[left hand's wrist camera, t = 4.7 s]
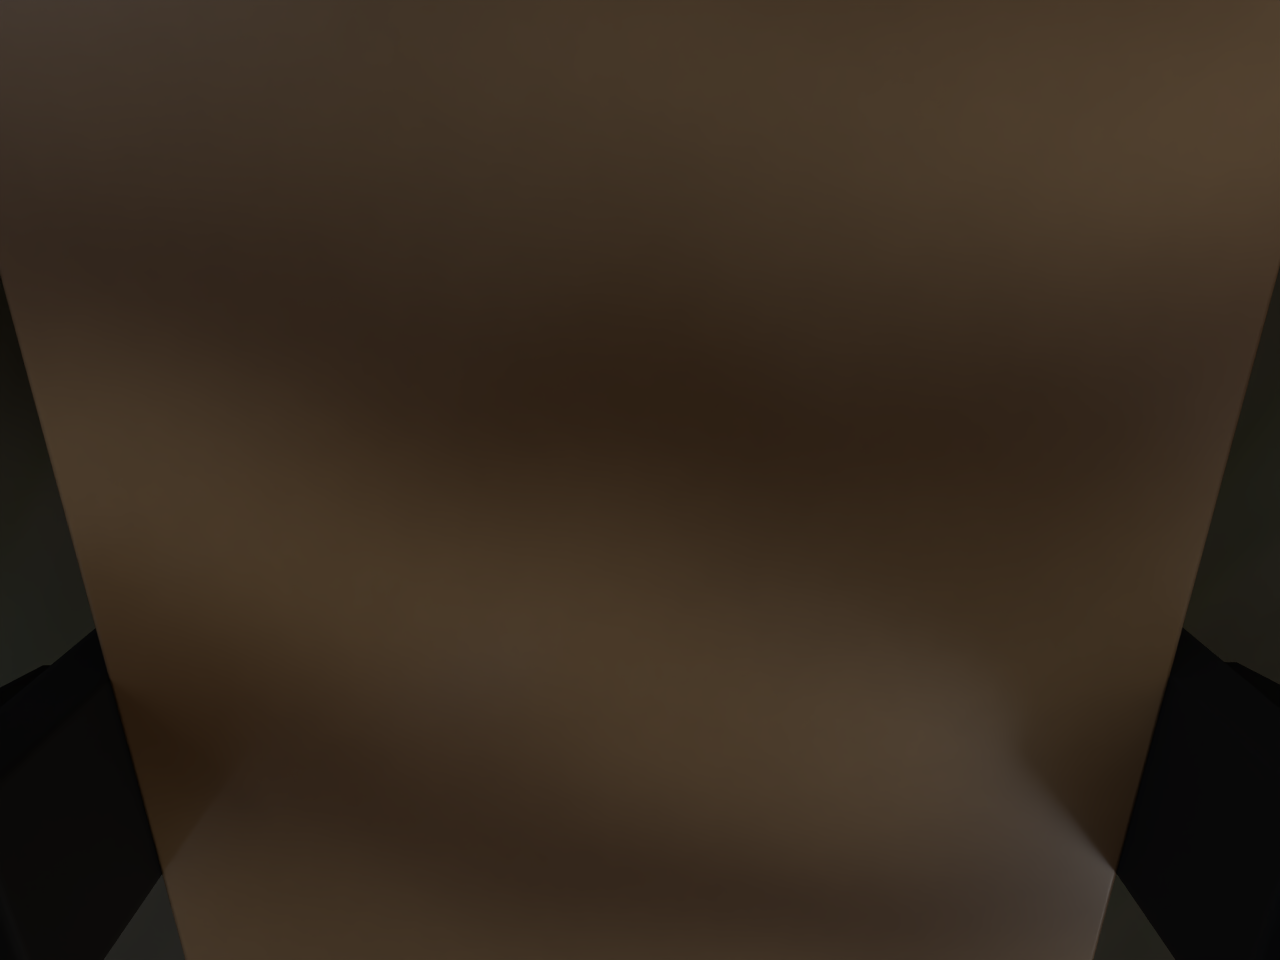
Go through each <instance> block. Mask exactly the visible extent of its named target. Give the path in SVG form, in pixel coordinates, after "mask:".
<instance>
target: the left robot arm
mask: <svg viewBox="0 0 1280 960" xmlns="http://www.w3.org/2000/svg"><path fill="white" fill-rule="evenodd" d="M161 875H162V871H161V867H160V864H159V860H158V856H157V853H156V849H155V845H154V842H153V838H152V834H151V830H150V827H149V823H148V819H147V816H146V812H145V808H144V805H143V801H142V797H141V793H140V790H139V786H138V782H137V779H136V775H135V771H134V768H133V764H132V760H131V756H130V753H129V749H128V745H127V742H126V738H125V734H124V731H123V727H122V723H121V720H120V716H119V712H118V708H117V705H116V701H115V697H114V694H113V690H112V686H111V683H110V679H109V675H108V671H107V668H106V664H105V660H104V657H103V653H102V649H101V646H100V642H99V638H98V634H97V631H96V628H95V629H94V630H93V631H92V632H91V633H89V634H88V635H87V636H86V637H84V638H83V639H82V640H81V641H80V642H78V643H77V644H76V645H75V646H74V647H72V648H71V649H70V650H69V651H68V652H66V653H65V654H64V655H63V656H62V657H60V658H59V659H58V660H57V661H56V662H54V663H53V664H52V665H43V666H41V667H39V668H37V669H35V670H33V671H31V672H29V673H28V674H26V675H24V676H22V677H20V678H18V679H16V680H14V681H12V682H10V683H8V684H6V685H4V686H2V687H1V688H0V960H104V958H105V957H106V955H107V954H108V952H109V951H110V949H111V948H112V946H113V945H114V944H115V942H116V941H117V939H118V938H119V936H120V935H121V933H122V932H123V930H124V929H125V927H126V926H127V925H128V923H129V922H130V920H131V919H132V917H133V916H134V914H135V913H136V911H137V910H138V908H139V907H140V905H141V904H142V903H143V901H144V900H145V898H146V897H147V895H148V894H149V892H150V891H151V889H152V888H153V886H154V885H155V884H156V882H157V881H158V879H159V878H160V876H161ZM1117 875H1118V876H1119V878H1120V879H1121V881H1122V882H1123V883H1124V885H1125V886H1126V888H1127V889H1128V891H1129V892H1130V894H1131V895H1132V897H1133V898H1134V900H1135V901H1136V902H1137V904H1138V905H1139V907H1140V908H1141V910H1142V911H1143V913H1144V914H1145V916H1146V917H1147V919H1148V920H1149V921H1150V923H1151V924H1152V926H1153V927H1154V929H1155V930H1156V932H1157V933H1158V935H1159V936H1160V938H1161V939H1162V940H1163V942H1164V943H1165V945H1166V946H1167V948H1168V949H1169V951H1170V952H1171V954H1172V955H1173V957H1174V958H1175V960H1280V685H1279V684H1277V683H1275V682H1274V681H1272V680H1270V679H1268V678H1266V677H1264V676H1262V675H1260V674H1258V673H1256V672H1254V671H1252V670H1250V669H1248V668H1246V667H1244V666H1243V665H1241V664H1239V663H1237V662H1223V661H1222V660H1221V659H1220V658H1219V657H1217V656H1216V655H1215V654H1214V653H1213V652H1211V651H1210V650H1209V649H1208V648H1207V647H1205V646H1204V645H1203V644H1202V643H1201V642H1199V641H1198V640H1197V639H1196V638H1194V637H1193V636H1192V635H1191V634H1190V633H1188V632H1187V631H1186V630H1185V629H1184V628H1182V631H1181V635H1180V638H1179V642H1178V646H1177V650H1176V653H1175V657H1174V661H1173V664H1172V668H1171V672H1170V676H1169V679H1168V683H1167V687H1166V691H1165V694H1164V698H1163V702H1162V705H1161V709H1160V713H1159V717H1158V720H1157V724H1156V728H1155V731H1154V735H1153V739H1152V743H1151V746H1150V750H1149V754H1148V757H1147V761H1146V765H1145V769H1144V772H1143V776H1142V780H1141V783H1140V787H1139V791H1138V795H1137V798H1136V802H1135V806H1134V809H1133V813H1132V817H1131V821H1130V824H1129V828H1128V832H1127V835H1126V839H1125V843H1124V847H1123V850H1122V854H1121V858H1120V861H1119V865H1118V869H1117Z"/></svg>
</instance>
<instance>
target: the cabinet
mask: <svg viewBox="0 0 1280 960" xmlns="http://www.w3.org/2000/svg"><path fill="white" fill-rule="evenodd" d="M1279 267H1280V0H0V276H1V280H2V283H3V287H4V291H5V294H6V298H7V302H8V305H9V309H10V313H11V317H12V320H13V324H14V328H15V331H16V335H17V339H18V342H19V346H20V350H21V354H22V357H23V361H24V365H25V368H26V372H27V376H28V379H29V383H30V387H31V390H32V394H33V398H34V402H35V405H36V409H37V413H38V416H39V420H40V424H41V427H42V431H43V435H44V439H45V442H46V446H47V450H48V453H49V457H50V461H51V464H52V468H53V472H54V476H55V479H56V483H57V487H58V490H59V494H60V498H61V501H62V505H63V509H64V512H65V516H66V520H67V524H68V527H69V531H70V535H71V538H72V542H73V546H74V549H75V553H76V557H77V561H78V564H79V568H80V572H81V575H82V579H83V583H84V586H85V590H86V594H87V598H88V601H89V605H90V609H91V612H92V616H93V620H94V623H95V627H96V631H97V634H98V638H99V642H100V646H101V649H102V653H103V657H104V660H105V664H106V668H107V671H108V675H109V679H110V683H111V686H112V690H113V694H114V697H115V701H116V705H117V708H118V712H119V716H120V720H121V723H122V727H123V731H124V734H125V738H126V742H127V745H128V749H129V753H130V756H131V760H132V764H133V768H134V771H135V775H136V779H137V782H138V786H139V790H140V793H141V797H142V801H143V805H144V808H145V812H146V816H147V819H148V823H149V827H150V830H151V834H152V838H153V842H154V845H155V849H156V853H157V856H158V860H159V864H160V867H161V871H162V875H163V878H164V882H165V886H166V890H167V893H168V897H169V901H170V904H171V908H172V912H173V915H174V919H175V923H176V927H177V930H178V934H179V938H180V941H181V945H182V949H183V952H184V956H185V960H1093V958H1094V954H1095V951H1096V947H1097V943H1098V939H1099V936H1100V932H1101V928H1102V925H1103V921H1104V917H1105V913H1106V910H1107V906H1108V902H1109V899H1110V895H1111V891H1112V887H1113V884H1114V880H1115V876H1116V873H1117V869H1118V865H1119V861H1120V858H1121V854H1122V850H1123V847H1124V843H1125V839H1126V835H1127V832H1128V828H1129V824H1130V821H1131V817H1132V813H1133V809H1134V806H1135V802H1136V798H1137V795H1138V791H1139V787H1140V783H1141V780H1142V776H1143V772H1144V769H1145V765H1146V761H1147V757H1148V754H1149V750H1150V746H1151V743H1152V739H1153V735H1154V731H1155V728H1156V724H1157V720H1158V717H1159V713H1160V709H1161V705H1162V702H1163V698H1164V694H1165V691H1166V687H1167V683H1168V679H1169V676H1170V672H1171V668H1172V664H1173V661H1174V657H1175V653H1176V650H1177V646H1178V642H1179V638H1180V635H1181V631H1182V627H1183V624H1184V620H1185V616H1186V612H1187V609H1188V605H1189V601H1190V598H1191V594H1192V590H1193V586H1194V583H1195V579H1196V575H1197V572H1198V568H1199V564H1200V560H1201V557H1202V553H1203V549H1204V546H1205V542H1206V538H1207V534H1208V531H1209V527H1210V523H1211V520H1212V516H1213V512H1214V508H1215V505H1216V501H1217V497H1218V494H1219V490H1220V486H1221V482H1222V479H1223V475H1224V471H1225V468H1226V464H1227V460H1228V456H1229V453H1230V449H1231V445H1232V442H1233V438H1234V434H1235V430H1236V427H1237V423H1238V419H1239V416H1240V412H1241V408H1242V404H1243V401H1244V397H1245V393H1246V389H1247V386H1248V382H1249V378H1250V375H1251V371H1252V367H1253V363H1254V360H1255V356H1256V352H1257V349H1258V345H1259V341H1260V337H1261V334H1262V330H1263V326H1264V323H1265V319H1266V315H1267V311H1268V308H1269V304H1270V300H1271V297H1272V293H1273V289H1274V285H1275V282H1276V278H1277V274H1278V271H1279Z"/></svg>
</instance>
